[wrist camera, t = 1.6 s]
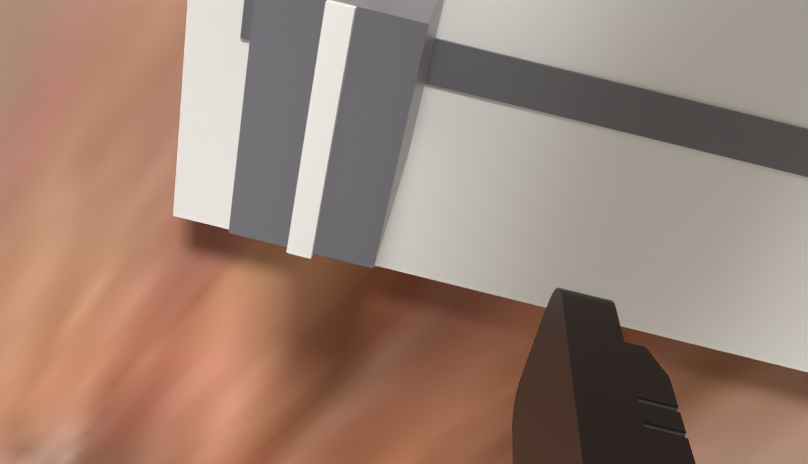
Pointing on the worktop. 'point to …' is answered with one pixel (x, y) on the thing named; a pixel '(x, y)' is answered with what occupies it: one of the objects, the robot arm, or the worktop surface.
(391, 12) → the fader cap
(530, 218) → the console board
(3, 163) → the worktop surface
